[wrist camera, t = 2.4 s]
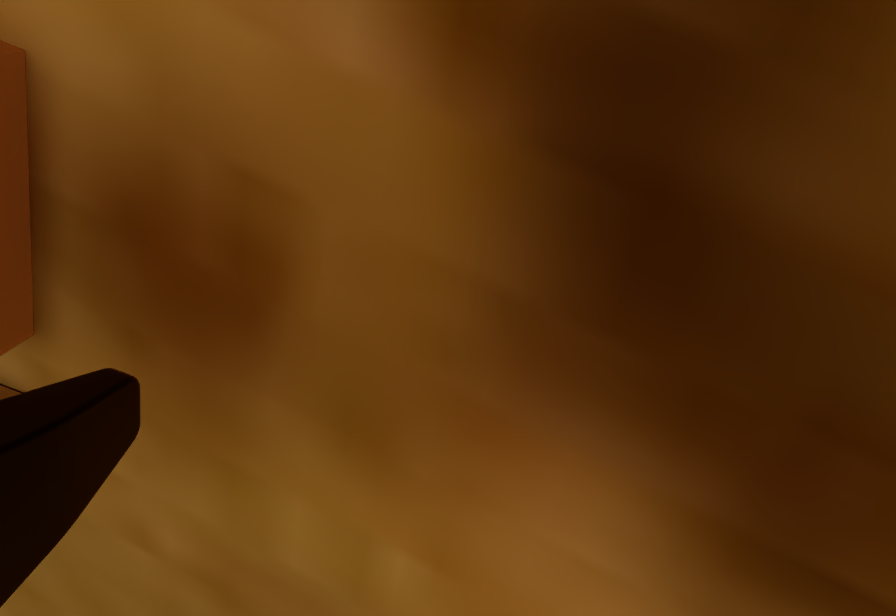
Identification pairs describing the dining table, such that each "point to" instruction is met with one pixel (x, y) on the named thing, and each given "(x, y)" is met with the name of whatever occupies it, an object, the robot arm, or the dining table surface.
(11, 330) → the block
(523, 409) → the dining table surface
